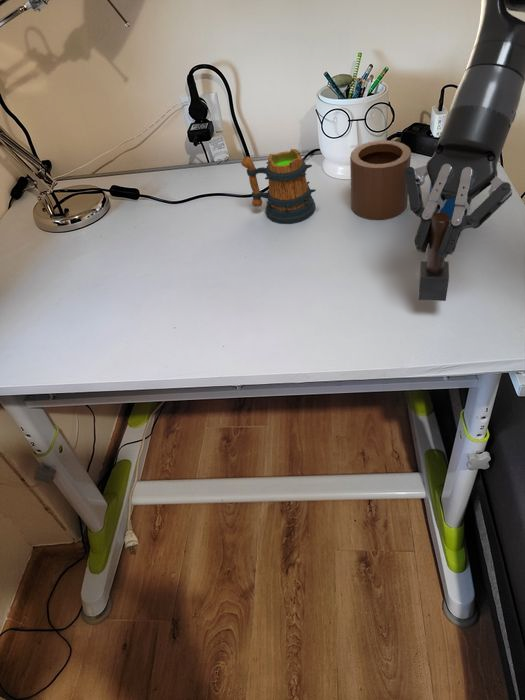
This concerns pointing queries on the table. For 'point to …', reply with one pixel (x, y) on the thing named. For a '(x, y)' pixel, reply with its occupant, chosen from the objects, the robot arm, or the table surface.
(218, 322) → the table surface
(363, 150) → the brown pencil cup
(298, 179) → the mug
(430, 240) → the cylinder on square base
